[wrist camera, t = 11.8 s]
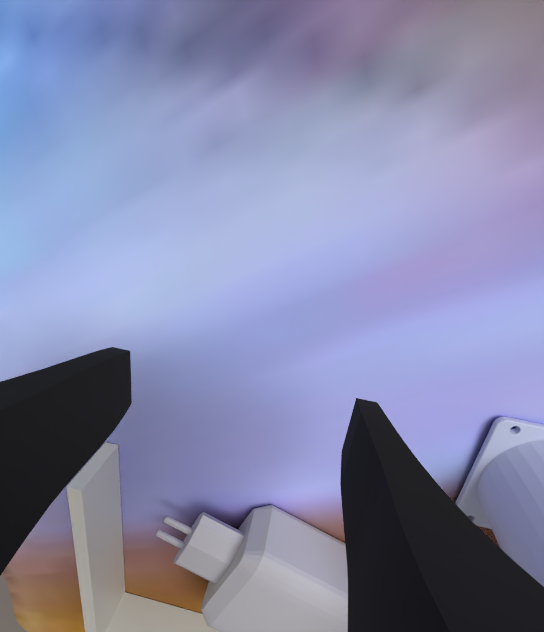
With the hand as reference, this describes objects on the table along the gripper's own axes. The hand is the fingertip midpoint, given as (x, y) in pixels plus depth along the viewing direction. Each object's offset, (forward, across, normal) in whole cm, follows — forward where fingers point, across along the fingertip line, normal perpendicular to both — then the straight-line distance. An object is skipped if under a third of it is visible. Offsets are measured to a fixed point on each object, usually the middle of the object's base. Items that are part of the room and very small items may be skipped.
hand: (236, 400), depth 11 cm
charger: (+10, -1, +20) cm, 22 cm away
